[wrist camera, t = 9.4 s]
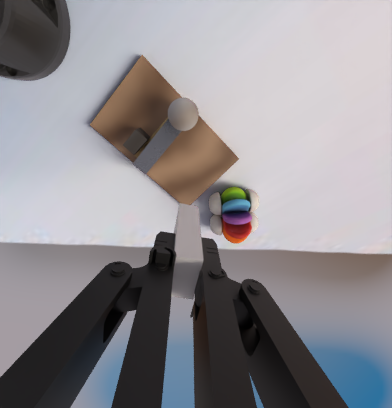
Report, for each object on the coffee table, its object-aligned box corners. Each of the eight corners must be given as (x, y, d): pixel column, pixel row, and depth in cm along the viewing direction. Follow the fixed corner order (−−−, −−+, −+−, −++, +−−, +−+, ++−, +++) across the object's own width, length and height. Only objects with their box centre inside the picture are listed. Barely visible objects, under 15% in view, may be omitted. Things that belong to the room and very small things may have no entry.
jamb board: (92, 124, 33) (75, 127, 28) (146, 52, 29) (137, 41, 25) (186, 206, 39) (186, 220, 34) (240, 154, 36) (248, 162, 31)
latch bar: (170, 116, 32) (168, 117, 29) (183, 128, 32) (182, 130, 30) (137, 159, 34) (132, 163, 31) (149, 169, 35) (145, 174, 32)
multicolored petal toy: (210, 231, 42) (213, 255, 35) (207, 184, 38) (211, 201, 31) (253, 228, 42) (265, 251, 35) (255, 181, 38) (269, 196, 31)
